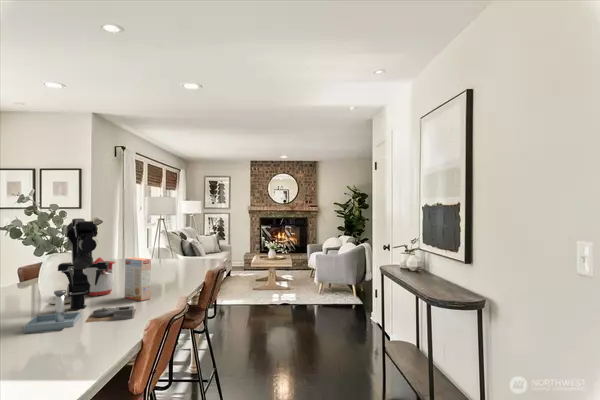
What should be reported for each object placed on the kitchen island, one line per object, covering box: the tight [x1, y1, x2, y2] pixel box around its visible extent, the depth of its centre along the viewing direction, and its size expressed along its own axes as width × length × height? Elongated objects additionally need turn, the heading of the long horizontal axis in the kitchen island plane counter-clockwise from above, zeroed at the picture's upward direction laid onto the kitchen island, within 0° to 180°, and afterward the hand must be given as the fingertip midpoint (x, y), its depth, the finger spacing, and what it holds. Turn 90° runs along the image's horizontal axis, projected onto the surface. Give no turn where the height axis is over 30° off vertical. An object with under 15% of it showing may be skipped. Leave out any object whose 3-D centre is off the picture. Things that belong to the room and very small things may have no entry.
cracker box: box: [124, 257, 152, 302], centre depth 195 cm, size 14×6×21 cm, turn 58°
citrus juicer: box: [83, 257, 116, 297], centre depth 205 cm, size 16×17×20 cm
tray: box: [23, 311, 82, 335], centre depth 149 cm, size 14×16×3 cm
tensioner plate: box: [84, 305, 137, 324], centre depth 160 cm, size 15×18×4 cm
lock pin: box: [53, 289, 67, 322], centre depth 149 cm, size 4×4×13 cm
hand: (83, 285), depth 163 cm, fingers open, 9 cm apart
